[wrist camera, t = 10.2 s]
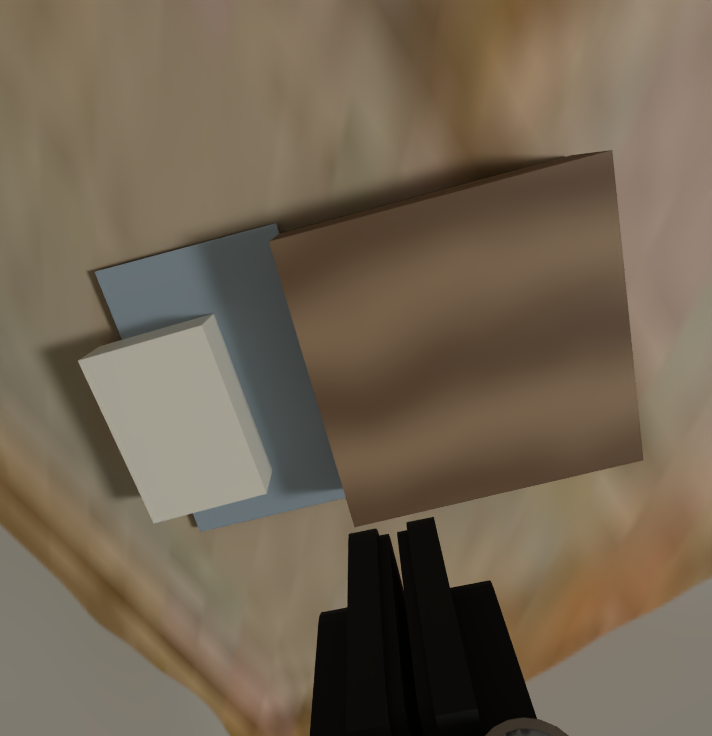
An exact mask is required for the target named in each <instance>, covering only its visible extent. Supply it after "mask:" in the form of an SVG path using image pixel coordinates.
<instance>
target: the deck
mask: <svg viewBox="0 0 712 736" xmlns="http://www.w3.org/2000/svg"><path fill="white" fill-rule="evenodd" d="M269 244H270V247H271V251H272V254H273V257H274V261H275V264H276V267H277V271H278V274H279V277H280V281H281V284H282V287H283V291H284V294H285V297H286V301H287V304H288V307H289V310H290V314H291V317H292V320H293V324H294V327H295V330H296V334H297V337H298V340H299V344H300V347H301V350H302V354H303V357H304V360H305V364H306V367H307V370H308V374H309V377H310V380H311V384H312V387H313V390H314V394H315V397H316V400H317V404H318V407H319V410H320V414H321V417H322V420H323V424H324V427H325V430H326V434H327V437H328V440H329V444H330V447H331V450H332V453H333V457H334V460H335V463H336V467H337V470H338V473H339V477H340V480H341V483H342V487H343V490H344V493H345V497H346V500H347V503H348V507H349V510H350V513H351V517H352V520H353V523H354V527H358V526H362V525H366V524H371V523H375V522H379V521H384V520H388V519H392V518H396V517H401V516H405V515H409V514H414V513H418V512H422V511H427V510H431V509H435V508H440V507H444V506H448V505H452V504H457V503H461V502H465V501H470V500H474V499H478V498H483V497H487V496H491V495H495V494H500V493H504V492H508V491H513V490H517V489H521V488H526V487H530V486H534V485H539V484H543V483H547V482H551V481H556V480H560V479H564V478H569V477H573V476H577V475H582V474H586V473H590V472H594V471H599V470H603V469H607V468H612V467H616V466H620V465H625V464H629V463H633V462H638V461H642V460H643V452H642V442H641V432H640V422H639V412H638V402H637V393H636V383H635V373H634V363H633V353H632V343H631V333H630V323H629V313H628V303H627V293H626V283H625V273H624V263H623V253H622V243H621V234H620V224H619V214H618V204H617V194H616V184H615V174H614V164H613V154H612V150H610V151H602V152H594V153H586V154H578V155H571V156H567V157H564V158H560V159H556V160H552V161H549V162H545V163H541V164H537V165H534V166H530V167H526V168H522V169H519V170H515V171H511V172H508V173H504V174H500V175H496V176H493V177H489V178H485V179H481V180H478V181H474V182H470V183H466V184H463V185H459V186H455V187H451V188H448V189H444V190H440V191H436V192H433V193H429V194H425V195H421V196H418V197H414V198H410V199H406V200H403V201H399V202H395V203H391V204H388V205H384V206H380V207H376V208H373V209H369V210H365V211H361V212H358V213H354V214H350V215H346V216H343V217H339V218H335V219H332V220H328V221H324V222H320V223H317V224H313V225H309V226H305V227H302V228H298V229H294V230H290V231H287V232H283V233H279V234H278V235H277V236H276V237H274V238H273V239H272V240H270V241H269Z"/></svg>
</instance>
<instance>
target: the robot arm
mask: <svg viewBox="0 0 712 736" xmlns="http://www.w3.org/2000/svg"><path fill="white" fill-rule="evenodd" d="M406 524H407V530H406V531H401V532H397V537H398V545H399V554H400V562H401V570H402V579H403V586H402V582H401V578H400V574H399V570H398V566H397V563H396V559H395V555H394V551H393V547H392V543H391V539H390V536H389V534H385V535H380V536H379V533H378V530H377V529H371V530H366V531H361V532H356V533H351V534H349V538H348V607H347V608H342V609H337V610H332V611H326V612H321V614H320V616H319V623H318V636H317V648H316V661H315V674H314V687H313V700H312V713H311V726H310V736H568V735H567V734H566V733H564V732H563V731H562V730H560V729H559V728H558V727H557V726H554V725H552V724H550V723H547V722H545V721H542V720H539V719H537V717H536V714H535V711H534V708H533V706H532V702H531V699H530V696H529V693H528V690H527V687H526V684H525V681H524V678H523V675H522V672H521V669H520V666H519V663H518V660H517V657H516V654H515V651H514V648H513V645H512V642H511V639H510V636H509V633H508V630H507V627H506V624H505V621H504V618H503V615H502V612H501V609H500V606H499V603H498V600H497V597H496V594H495V591H494V588H493V585H492V583H491V581H490V580H489V581H484V582H479V583H474V584H468V585H463V586H458V587H453V588H450V586H449V582H448V577H447V573H446V569H445V564H444V560H443V556H442V551H441V547H440V542H439V538H438V534H437V529H436V525H435V521H434V517H431V518H426V519H421V520H416V521H411V522H407V523H406ZM403 587H404V590H403Z"/></svg>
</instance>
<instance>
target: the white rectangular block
mask: <svg viewBox="0 0 712 736" xmlns="http://www.w3.org/2000/svg"><path fill="white" fill-rule="evenodd" d="M78 363H79V365H80V367H81V369H82V371H83V373H84V375H85V378H86V380H87V382H88V384H89V386H90V388H91V390H92V392H93V395H94V397H95V399H96V401H97V403H98V405H99V407H100V410H101V412H102V414H103V416H104V418H105V420H106V422H107V425H108V427H109V429H110V431H111V433H112V435H113V437H114V439H115V442H116V444H117V446H118V448H119V450H120V452H121V454H122V457H123V459H124V461H125V463H126V465H127V467H128V469H129V472H130V474H131V476H132V478H133V480H134V482H135V484H136V486H137V489H138V491H139V493H140V495H141V497H142V499H143V501H144V504H145V506H146V508H147V510H148V512H149V514H150V516H151V519H152V521H153V523H157V522H161V521H165V520H169V519H173V518H176V517H180V516H184V515H188V514H192V513H195V512H199V511H203V510H207V509H211V508H214V507H218V506H222V505H226V504H230V503H233V502H237V501H241V500H245V499H249V498H252V497H256V496H260V495H264V494H267V490H268V486H269V482H270V478H271V474H272V468H271V465H270V463H269V460H268V457H267V455H266V452H265V449H264V447H263V444H262V441H261V438H260V436H259V433H258V430H257V428H256V425H255V422H254V420H253V417H252V414H251V412H250V409H249V406H248V404H247V401H246V398H245V396H244V393H243V390H242V388H241V385H240V382H239V380H238V377H237V374H236V372H235V369H234V366H233V364H232V361H231V358H230V356H229V353H228V350H227V348H226V345H225V342H224V340H223V337H222V334H221V332H220V329H219V326H218V324H217V321H216V318H215V316H214V313H213V314H210V315H206V316H203V317H199V318H196V319H192V320H189V321H185V322H182V323H178V324H175V325H171V326H168V327H164V328H161V329H158V330H154V331H151V332H147V333H144V334H140V335H137V336H133V337H130V338H126V339H123V340H119V341H116V342H112V343H109V344H105V345H102V346H99V347H98V348H96V349H95V350H93V351H92V352H90V353H89V354H87V355H86V356H84V357H83V358H81V359H80V360H78Z"/></svg>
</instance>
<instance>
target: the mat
mask: <svg viewBox="0 0 712 736" xmlns="http://www.w3.org/2000/svg"><path fill="white" fill-rule="evenodd" d="M278 234H279V229H278V226H277V223H274V224H270V225H267V226H263V227H259V228H255V229H252V230H248V231H244V232H241V233H237V234H233V235H229V236H226V237H222V238H218V239H214V240H211V241H207V242H203V243H200V244H196V245H192V246H188V247H185V248H181V249H177V250H173V251H170V252H166V253H162V254H159V255H155V256H151V257H147V258H144V259H140V260H136V261H132V262H129V263H125V264H121V265H118V266H114V267H110V268H106V269H103V270H99V271H96V272H95V274H96V277H97V279H98V282H99V284H100V287H101V289H102V292H103V294H104V297H105V299H106V301H107V304H108V306H109V309H110V311H111V314H112V316H113V319H114V321H115V324H116V326H117V329H118V331H119V333H120V336H121V338H122V340H123V339H126V338H130V337H133V336H137V335H140V334H144V333H147V332H151V331H154V330H158V329H161V328H164V327H168V326H171V325H175V324H178V323H182V322H185V321H189V320H192V319H196V318H199V317H203V316H206V315H210V314H213V313H214V316H215V318H216V321H217V324H218V326H219V329H220V332H221V334H222V337H223V340H224V342H225V345H226V348H227V350H228V353H229V356H230V358H231V361H232V364H233V366H234V369H235V372H236V374H237V377H238V380H239V382H240V385H241V388H242V390H243V393H244V396H245V398H246V401H247V404H248V406H249V409H250V412H251V414H252V417H253V420H254V422H255V425H256V428H257V430H258V433H259V436H260V438H261V441H262V444H263V447H264V449H265V452H266V455H267V457H268V460H269V463H270V465H271V468H272V474H271V478H270V482H269V486H268V490H267V494H264V495H260V496H256V497H252V498H249V499H245V500H241V501H237V502H233V503H230V504H226V505H222V506H218V507H214V508H211V509H207V510H203V511H199V512H195V513H193V515H194V518H195V520H196V523H197V525H198V528H199V530H200V532H202V531H206V530H210V529H215V528H219V527H223V526H227V525H231V524H236V523H240V522H244V521H248V520H253V519H257V518H261V517H265V516H270V515H274V514H278V513H282V512H287V511H291V510H295V509H299V508H304V507H308V506H312V505H316V504H321V503H325V502H329V501H333V500H337V499H342V498H346V497H345V493H344V490H343V487H342V483H341V480H340V477H339V473H338V470H337V467H336V463H335V460H334V457H333V453H332V450H331V447H330V444H329V440H328V437H327V434H326V430H325V427H324V424H323V420H322V417H321V414H320V410H319V407H318V404H317V400H316V397H315V394H314V390H313V387H312V384H311V380H310V377H309V374H308V370H307V367H306V364H305V360H304V357H303V354H302V350H301V347H300V344H299V340H298V337H297V334H296V330H295V327H294V324H293V320H292V317H291V314H290V310H289V307H288V304H287V301H286V297H285V294H284V291H283V287H282V284H281V281H280V277H279V274H278V271H277V267H276V264H275V261H274V257H273V254H272V251H271V247H270V244H269V241H270V240H272V239H273V238H274V237H276V236H277V235H278Z"/></svg>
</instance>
